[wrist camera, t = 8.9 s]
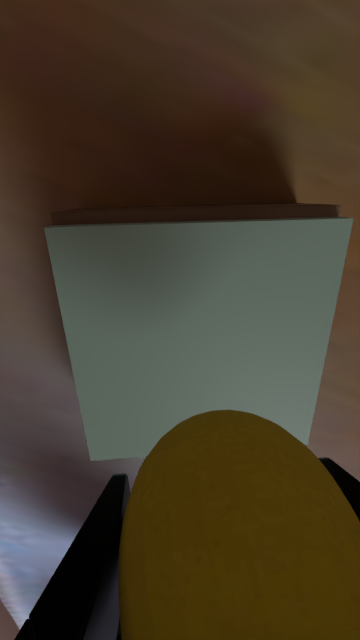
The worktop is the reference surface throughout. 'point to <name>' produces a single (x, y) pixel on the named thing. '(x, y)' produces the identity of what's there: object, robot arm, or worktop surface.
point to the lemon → (237, 538)
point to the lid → (195, 322)
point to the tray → (193, 213)
